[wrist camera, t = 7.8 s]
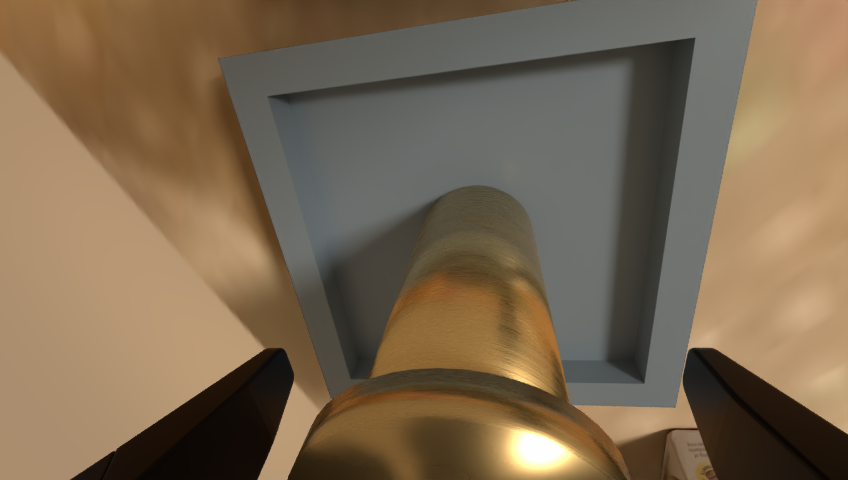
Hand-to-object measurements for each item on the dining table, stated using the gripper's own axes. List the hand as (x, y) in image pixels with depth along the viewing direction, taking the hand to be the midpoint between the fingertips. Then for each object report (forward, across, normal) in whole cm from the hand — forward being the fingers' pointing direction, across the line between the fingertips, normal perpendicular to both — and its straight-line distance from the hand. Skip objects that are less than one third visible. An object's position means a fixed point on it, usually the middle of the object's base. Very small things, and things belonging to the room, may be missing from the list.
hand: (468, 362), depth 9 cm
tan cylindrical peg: (+6, 0, 0) cm, 6 cm away
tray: (+7, 0, 0) cm, 7 cm away
